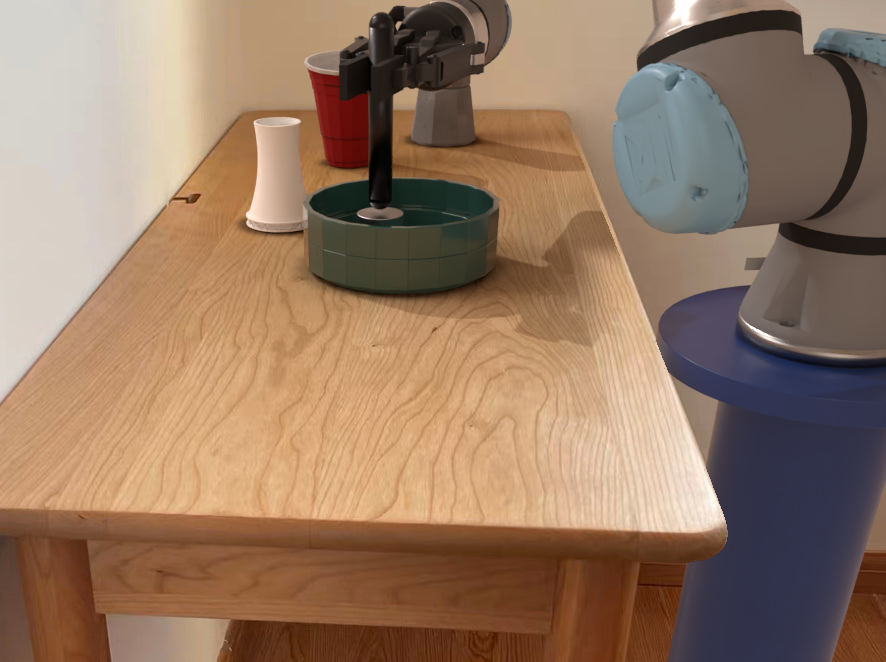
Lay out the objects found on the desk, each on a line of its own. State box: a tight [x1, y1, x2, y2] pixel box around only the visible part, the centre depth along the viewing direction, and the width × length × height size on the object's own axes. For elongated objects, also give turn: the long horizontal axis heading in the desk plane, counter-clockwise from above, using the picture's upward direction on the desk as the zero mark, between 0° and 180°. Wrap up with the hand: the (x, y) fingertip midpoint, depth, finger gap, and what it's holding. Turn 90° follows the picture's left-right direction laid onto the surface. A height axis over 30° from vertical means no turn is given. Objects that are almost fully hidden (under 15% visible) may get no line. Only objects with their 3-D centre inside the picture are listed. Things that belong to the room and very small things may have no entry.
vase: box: [245, 116, 308, 233], centre depth 118 cm, size 8×8×10 cm
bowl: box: [302, 176, 501, 295], centre depth 107 cm, size 18×18×6 cm
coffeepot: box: [387, 5, 477, 148], centre depth 149 cm, size 15×9×18 cm, turn 66°
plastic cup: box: [303, 49, 369, 169], centre depth 140 cm, size 11×11×12 cm
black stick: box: [357, 11, 403, 226], centre depth 102 cm, size 4×4×19 cm
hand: (359, 83), depth 95 cm, fingers closed on black stick, 2 cm apart
